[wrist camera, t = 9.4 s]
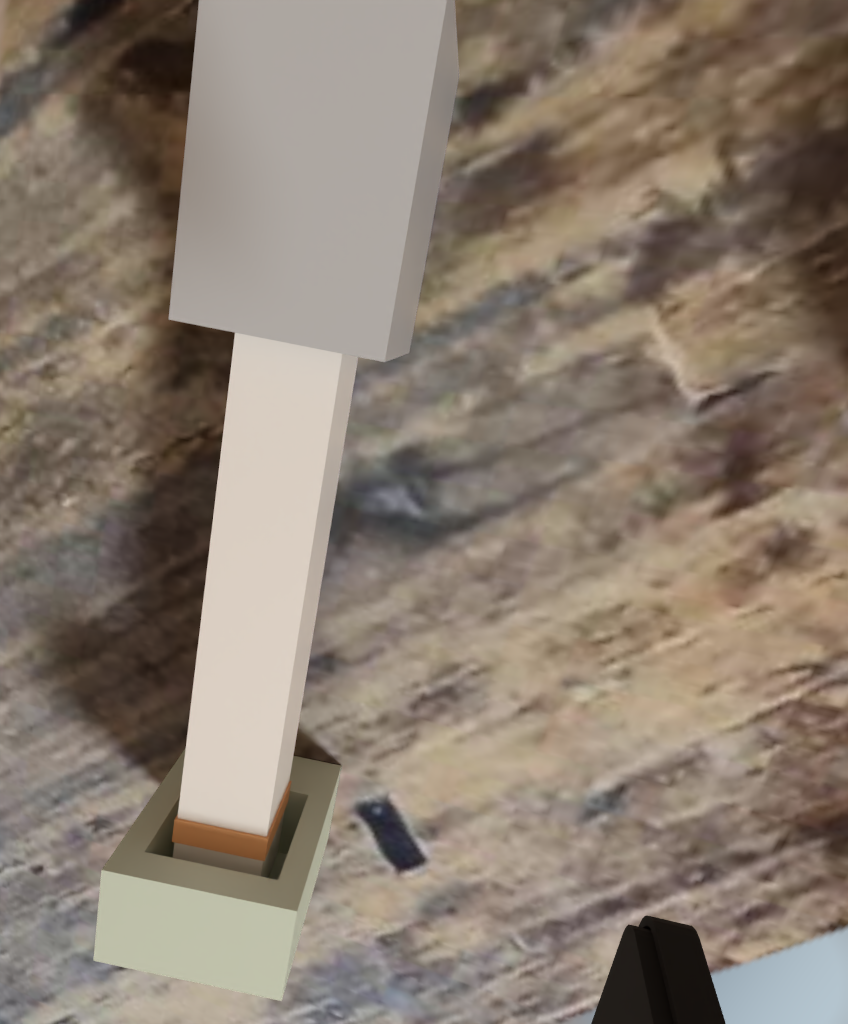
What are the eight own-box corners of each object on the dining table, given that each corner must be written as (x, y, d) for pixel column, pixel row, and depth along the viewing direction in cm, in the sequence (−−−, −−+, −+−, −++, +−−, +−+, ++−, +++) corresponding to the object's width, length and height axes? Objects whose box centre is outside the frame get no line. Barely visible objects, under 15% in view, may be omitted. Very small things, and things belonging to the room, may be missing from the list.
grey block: (286, 43, 26) (206, -80, 19) (459, 75, 26) (452, -34, 18) (252, 321, 29) (168, 319, 21) (409, 352, 29) (384, 362, 21)
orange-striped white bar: (273, 255, 25) (242, 243, 22) (374, 274, 25) (358, 265, 22) (199, 833, 31) (165, 896, 28) (280, 850, 31) (256, 915, 28)
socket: (194, 734, 34) (101, 870, 25) (341, 765, 34) (297, 911, 25) (185, 807, 35) (93, 960, 26) (328, 837, 35) (281, 1000, 26)
